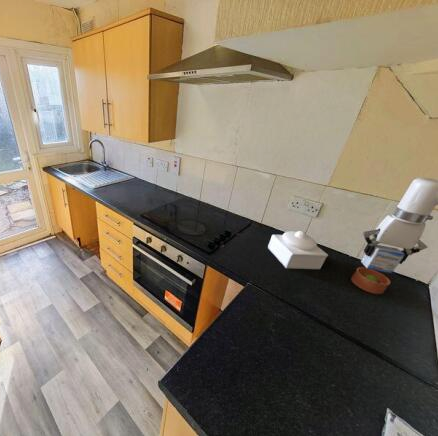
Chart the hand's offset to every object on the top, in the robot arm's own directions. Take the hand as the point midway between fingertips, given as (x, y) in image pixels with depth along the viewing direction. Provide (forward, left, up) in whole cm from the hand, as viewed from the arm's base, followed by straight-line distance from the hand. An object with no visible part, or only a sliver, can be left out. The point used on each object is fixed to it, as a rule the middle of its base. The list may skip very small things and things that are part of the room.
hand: (381, 257), depth 83 cm
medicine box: (0, 0, -5) cm, 5 cm away
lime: (-8, -15, -19) cm, 25 cm away
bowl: (-8, -15, -22) cm, 28 cm away
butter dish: (+21, -21, -22) cm, 37 cm away
